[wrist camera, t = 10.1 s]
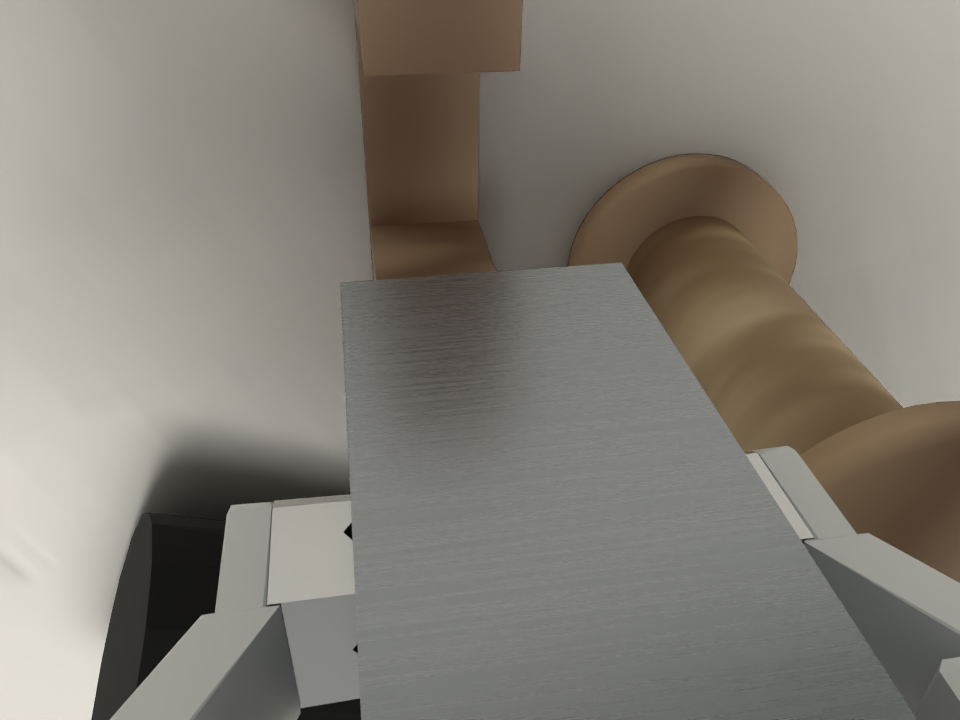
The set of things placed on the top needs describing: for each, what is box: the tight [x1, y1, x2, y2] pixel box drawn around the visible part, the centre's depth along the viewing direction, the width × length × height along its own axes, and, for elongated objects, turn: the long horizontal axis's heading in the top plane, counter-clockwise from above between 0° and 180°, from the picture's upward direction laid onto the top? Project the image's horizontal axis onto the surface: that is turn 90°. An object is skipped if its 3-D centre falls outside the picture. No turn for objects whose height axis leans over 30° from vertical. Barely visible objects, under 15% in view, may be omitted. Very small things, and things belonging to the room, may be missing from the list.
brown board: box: [354, 0, 523, 280], centre depth 20 cm, size 3×20×6 cm, turn 179°
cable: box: [92, 513, 361, 720], centre depth 32 cm, size 10×34×10 cm, turn 63°
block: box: [340, 263, 917, 720], centre depth 10 cm, size 4×4×8 cm
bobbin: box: [568, 154, 960, 583], centre depth 21 cm, size 7×7×13 cm
